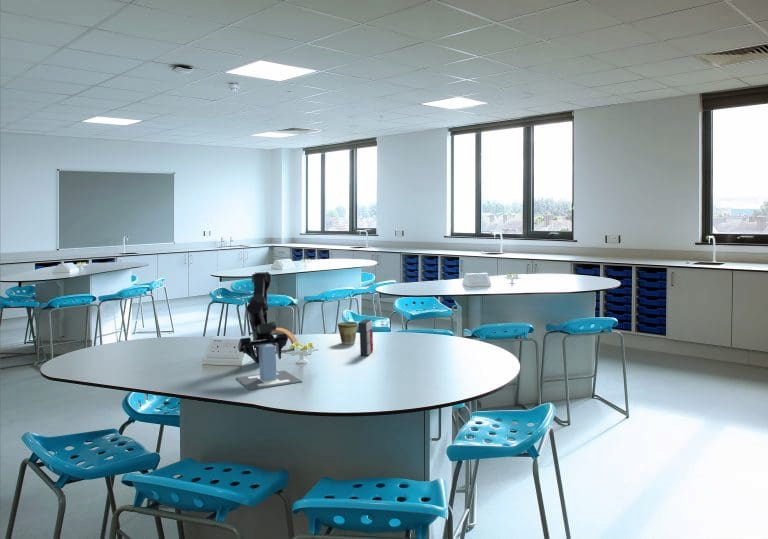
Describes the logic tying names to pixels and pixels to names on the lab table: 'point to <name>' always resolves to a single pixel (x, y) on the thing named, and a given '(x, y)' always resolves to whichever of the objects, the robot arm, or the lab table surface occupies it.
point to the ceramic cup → (347, 332)
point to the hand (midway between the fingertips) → (268, 360)
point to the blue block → (267, 362)
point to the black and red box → (366, 337)
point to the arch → (289, 334)
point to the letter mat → (256, 383)
